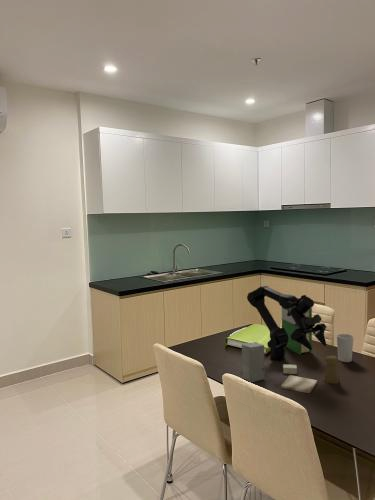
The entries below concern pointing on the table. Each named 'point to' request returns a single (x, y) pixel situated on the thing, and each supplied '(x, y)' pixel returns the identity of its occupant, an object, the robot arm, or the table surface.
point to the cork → (331, 370)
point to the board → (299, 384)
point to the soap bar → (289, 369)
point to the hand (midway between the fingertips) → (318, 347)
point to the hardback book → (290, 327)
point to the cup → (345, 347)
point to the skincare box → (253, 362)
